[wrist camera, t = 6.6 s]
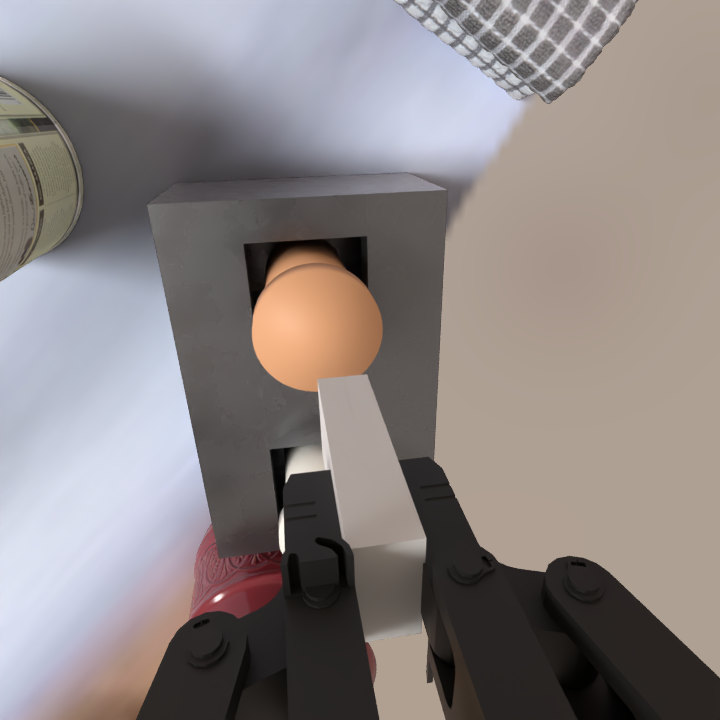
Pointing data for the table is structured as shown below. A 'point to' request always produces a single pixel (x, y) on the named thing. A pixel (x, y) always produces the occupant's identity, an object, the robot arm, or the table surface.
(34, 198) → the coffee can
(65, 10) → the table surface
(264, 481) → the block
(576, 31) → the towel
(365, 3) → the table surface
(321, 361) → the tan round-topped peg
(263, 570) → the canister
